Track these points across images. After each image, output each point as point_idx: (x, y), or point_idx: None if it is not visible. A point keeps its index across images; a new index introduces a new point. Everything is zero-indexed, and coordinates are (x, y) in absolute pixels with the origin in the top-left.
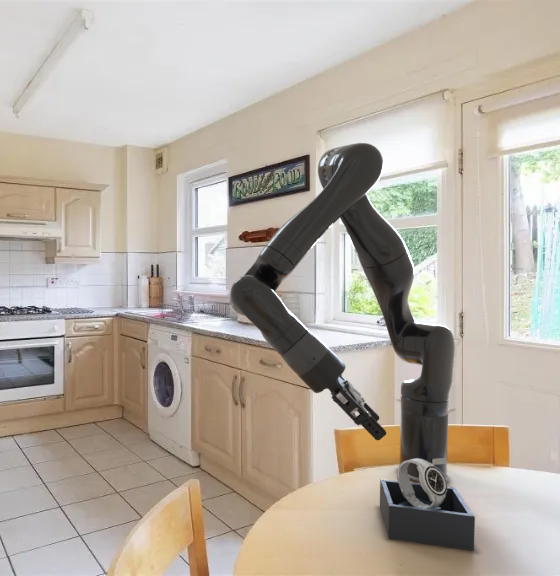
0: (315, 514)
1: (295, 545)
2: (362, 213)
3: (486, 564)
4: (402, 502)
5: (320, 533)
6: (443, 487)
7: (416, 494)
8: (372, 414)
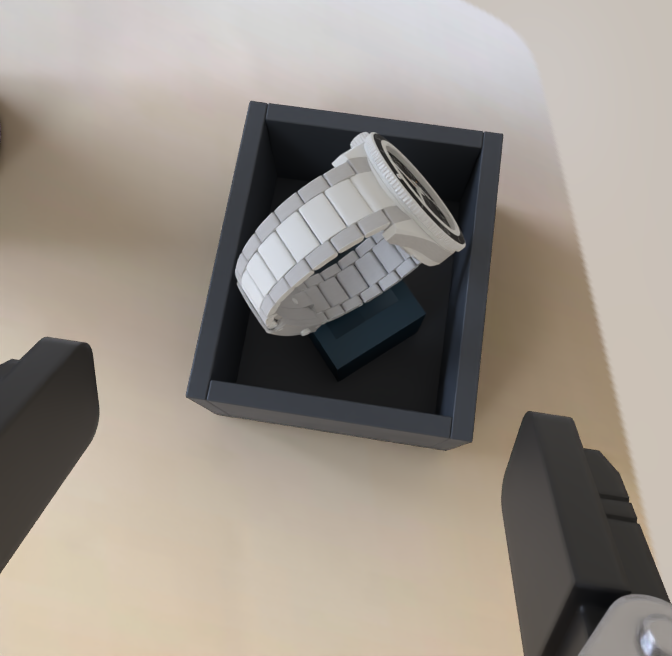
0: None
1: None
2: None
3: (543, 192)
4: (324, 346)
5: None
6: (408, 169)
7: None
8: (56, 406)
